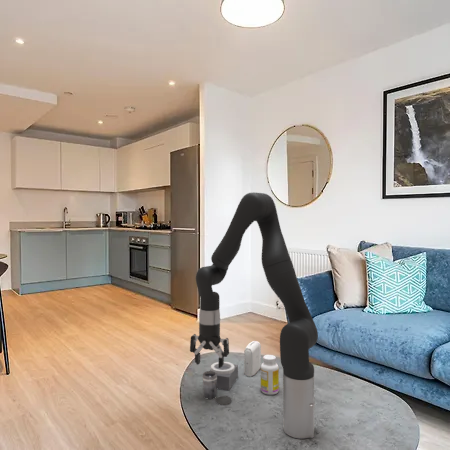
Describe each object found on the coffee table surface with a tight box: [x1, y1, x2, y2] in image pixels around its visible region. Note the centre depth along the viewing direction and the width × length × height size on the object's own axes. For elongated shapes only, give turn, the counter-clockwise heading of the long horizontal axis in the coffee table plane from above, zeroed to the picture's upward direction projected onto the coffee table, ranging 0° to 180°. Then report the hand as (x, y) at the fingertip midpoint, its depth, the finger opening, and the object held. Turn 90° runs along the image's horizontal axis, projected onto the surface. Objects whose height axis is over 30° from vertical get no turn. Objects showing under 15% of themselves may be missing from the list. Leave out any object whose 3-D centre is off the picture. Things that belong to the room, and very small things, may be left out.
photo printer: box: [243, 340, 262, 377], centre depth 153 cm, size 10×4×12 cm, turn 152°
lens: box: [202, 370, 218, 400], centre depth 132 cm, size 5×5×8 cm
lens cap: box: [215, 395, 233, 406], centre depth 128 cm, size 6×6×1 cm
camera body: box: [209, 361, 239, 391], centre depth 143 cm, size 9×12×6 cm
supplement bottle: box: [260, 354, 280, 396], centre depth 135 cm, size 7×7×13 cm
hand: (209, 365), depth 132 cm, fingers open, 8 cm apart
